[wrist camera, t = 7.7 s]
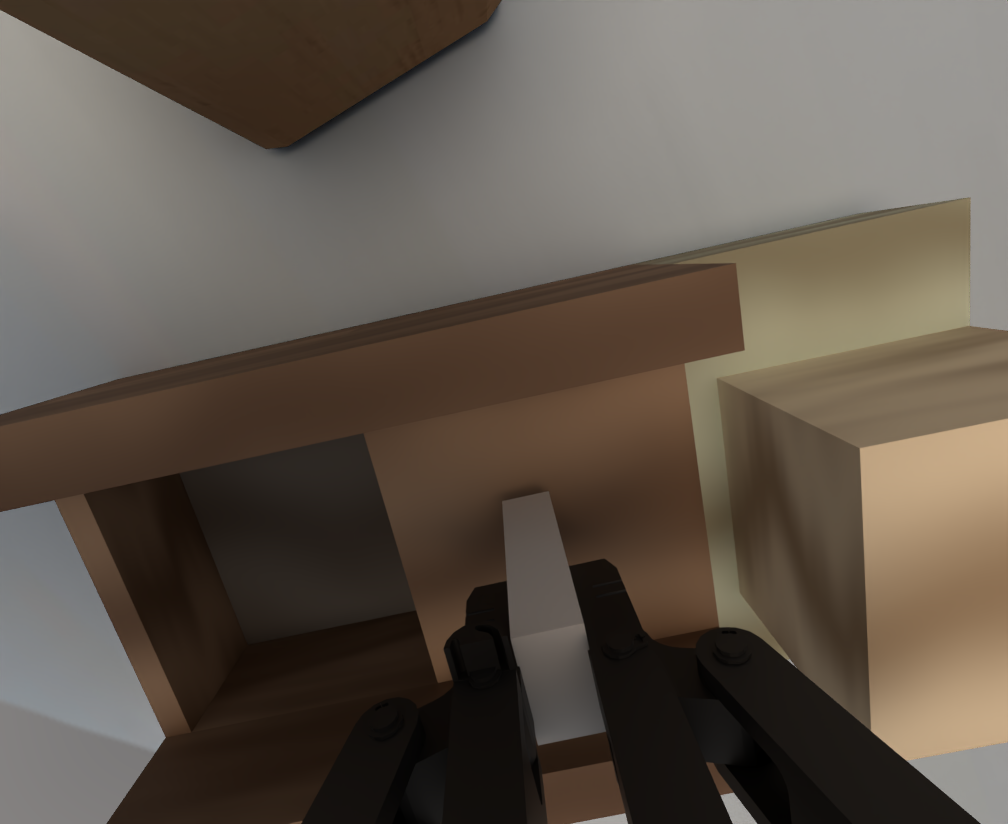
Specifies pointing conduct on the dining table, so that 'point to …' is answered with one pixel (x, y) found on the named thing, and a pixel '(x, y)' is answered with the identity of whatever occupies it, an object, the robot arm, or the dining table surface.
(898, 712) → the birch block
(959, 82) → the dining table surface
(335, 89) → the wooden block
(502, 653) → the robot arm
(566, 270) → the dining table surface
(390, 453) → the chute
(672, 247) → the dining table surface
